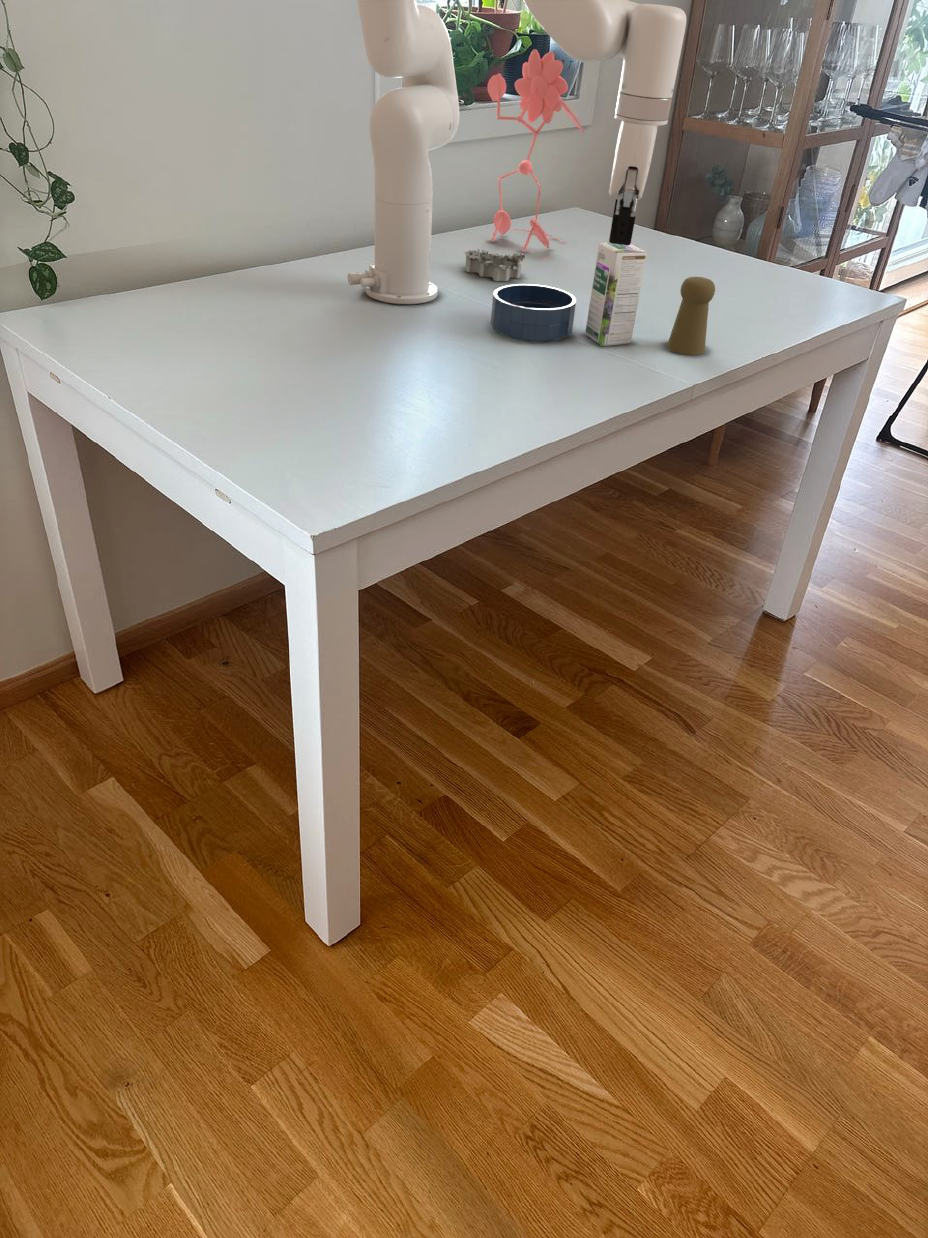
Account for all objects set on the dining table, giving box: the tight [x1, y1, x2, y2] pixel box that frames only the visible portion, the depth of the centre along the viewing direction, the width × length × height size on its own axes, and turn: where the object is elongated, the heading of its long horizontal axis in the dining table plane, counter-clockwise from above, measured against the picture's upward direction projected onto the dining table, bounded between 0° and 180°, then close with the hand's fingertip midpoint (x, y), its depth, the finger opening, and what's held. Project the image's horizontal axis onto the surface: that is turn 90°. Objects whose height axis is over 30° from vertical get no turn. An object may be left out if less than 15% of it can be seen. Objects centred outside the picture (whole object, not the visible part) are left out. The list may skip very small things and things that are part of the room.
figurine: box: [486, 48, 585, 259], centre depth 188 cm, size 15×26×35 cm, turn 44°
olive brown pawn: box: [666, 276, 716, 356], centre depth 147 cm, size 6×6×11 cm
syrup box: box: [584, 241, 648, 347], centre depth 147 cm, size 6×6×14 cm
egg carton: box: [463, 248, 526, 282], centre depth 177 cm, size 11×8×4 cm
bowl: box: [490, 283, 577, 343], centre depth 151 cm, size 13×13×6 cm
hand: (620, 235), depth 142 cm, fingers open, 9 cm apart
